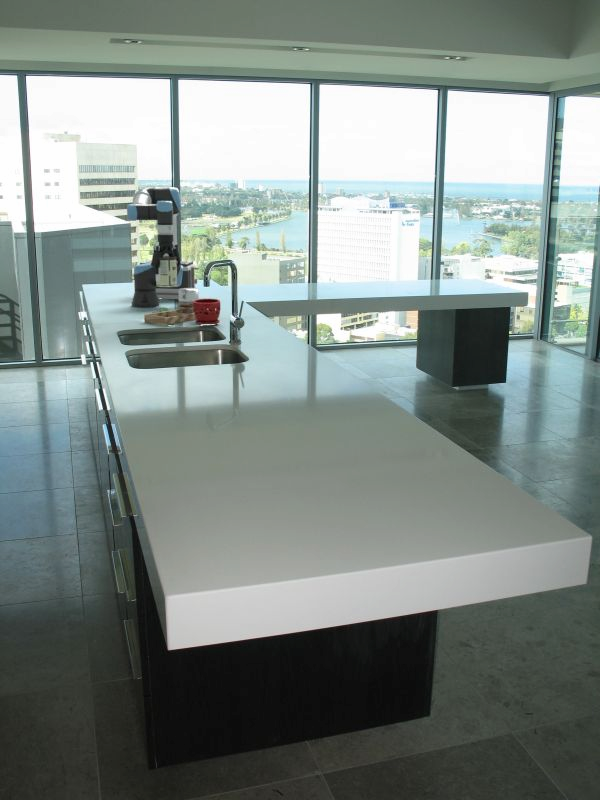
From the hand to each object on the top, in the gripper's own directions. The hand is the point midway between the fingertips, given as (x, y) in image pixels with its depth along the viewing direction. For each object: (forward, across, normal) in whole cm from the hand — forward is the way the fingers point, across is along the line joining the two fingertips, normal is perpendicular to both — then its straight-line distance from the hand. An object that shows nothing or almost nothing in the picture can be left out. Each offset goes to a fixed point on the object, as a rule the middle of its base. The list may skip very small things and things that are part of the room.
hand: (166, 280), depth 407 cm
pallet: (+21, +7, 0) cm, 22 cm away
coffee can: (+3, 0, 0) cm, 3 cm away
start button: (+20, +10, +13) cm, 26 cm away
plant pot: (+21, +8, -19) cm, 29 cm away
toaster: (+21, +62, +64) cm, 91 cm away
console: (+21, +10, +13) cm, 27 cm away
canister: (+20, +15, 0) cm, 25 cm away
